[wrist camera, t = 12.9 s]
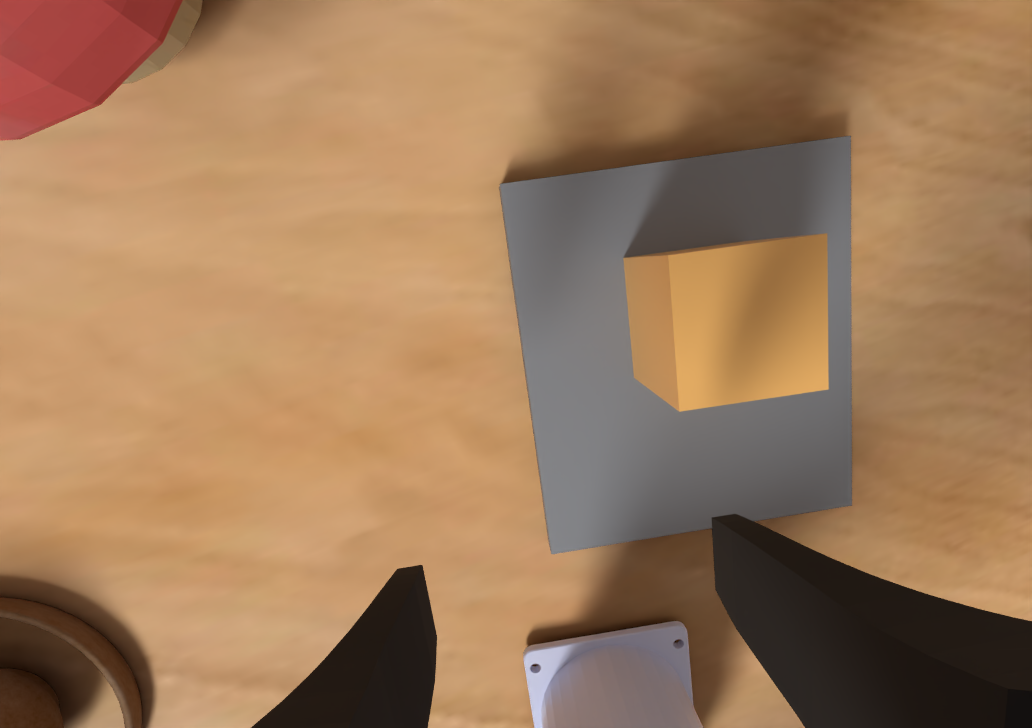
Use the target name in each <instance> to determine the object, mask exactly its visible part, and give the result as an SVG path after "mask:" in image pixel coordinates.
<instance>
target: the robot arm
mask: <svg viewBox="0 0 1032 728" xmlns="http://www.w3.org/2000/svg"><path fill="white" fill-rule="evenodd" d="M711 519H712V536H713V553H714V570H715V588H716V591H717V593H718V595H719V597H720V599H721V601H722V603H723V605H724V607H725V609H726V611H727V613H728V614H729V616H730V618H731V620H732V622H733V623H734V625H735V627H736V629H737V630H738V632H739V633H740V635H741V636H742V638H743V639H744V641H745V642H746V643H747V645H748V646H749V648H750V649H751V651H752V652H753V653H754V655H755V656H756V658H757V659H758V661H759V662H760V663H761V665H762V666H763V668H764V669H765V671H766V672H767V673H768V675H769V676H770V678H771V679H772V680H773V682H774V683H775V685H776V686H777V688H778V689H779V690H780V692H781V693H782V695H783V696H784V697H785V699H786V700H787V702H788V703H789V705H790V706H791V707H792V709H793V710H794V712H795V713H796V714H797V716H798V717H799V719H800V720H801V722H802V723H803V725H804V726H805V728H1032V621H1027V620H1023V619H1018V618H1013V617H1009V616H1005V615H1001V614H997V613H993V612H989V611H985V610H981V609H977V608H973V607H970V606H966V605H963V604H959V603H955V602H952V601H948V600H945V599H941V598H938V597H935V596H931V595H928V594H925V593H922V592H919V591H916V590H913V589H910V588H907V587H904V586H901V585H898V584H895V583H893V582H890V581H887V580H884V579H881V578H879V577H876V576H873V575H871V574H868V573H865V572H863V571H861V570H858V569H856V568H853V567H851V566H849V565H846V564H844V563H841V562H839V561H837V560H834V559H832V558H830V557H827V556H825V555H823V554H821V553H819V552H816V551H814V550H812V549H810V548H808V547H806V546H803V545H801V544H799V543H797V542H795V541H793V540H791V539H789V538H787V537H785V536H783V535H781V534H779V533H776V532H774V531H772V530H770V529H768V528H766V527H764V526H762V525H760V524H758V523H756V522H754V521H751V520H749V519H747V518H745V517H743V516H740V515H738V514H730V515H724V516H718V517H712V518H711ZM678 639H680V640H679V642H676V643H674V641H675V640H678ZM436 647H437V635H436V630H435V625H434V620H433V615H432V610H431V605H430V600H429V595H428V591H427V586H426V581H425V576H424V571H423V566H422V565H418V566H412V567H406V568H400V569H397V570H396V571H395V573H394V574H393V575H392V576H391V578H390V579H389V580H388V582H387V583H386V584H385V586H384V587H383V588H382V590H381V591H380V592H379V593H378V595H377V596H376V597H375V599H374V600H373V601H372V603H371V604H370V605H369V607H368V608H367V609H366V611H365V612H364V613H363V614H362V616H361V617H360V618H359V619H358V621H357V622H356V623H355V624H354V626H353V627H352V628H351V629H350V631H349V632H348V633H347V634H346V635H345V636H344V637H343V639H342V640H341V641H340V642H339V643H338V644H337V646H336V647H335V648H334V649H333V650H332V651H331V652H330V654H329V655H328V656H327V657H326V658H325V659H324V660H323V661H322V662H321V663H320V665H319V666H318V667H317V668H316V669H315V670H314V671H313V672H312V673H311V674H310V675H309V676H308V677H307V678H306V679H305V680H304V681H303V682H302V683H301V684H300V685H299V686H298V687H297V688H296V689H294V690H293V691H292V692H291V693H290V694H289V695H288V696H287V697H286V698H285V699H284V700H283V701H282V702H281V703H279V704H278V705H277V706H276V707H275V708H274V709H272V710H271V711H270V712H269V713H268V714H267V715H265V716H264V717H263V718H262V719H261V720H260V721H258V722H257V723H256V724H255V725H254V726H252V727H251V728H428V722H429V715H430V709H431V703H432V696H433V690H434V683H435V670H436ZM523 658H524V665H525V672H526V678H527V684H528V690H529V697H530V703H531V709H532V716H533V722H534V728H703V726H702V724H701V721H700V719H699V717H698V715H697V713H696V711H695V709H694V706H693V694H692V682H691V669H690V657H689V644H688V632H687V629H686V628H685V626H684V624H683V623H682V622H679V621H672V622H666V623H660V624H654V625H648V626H642V627H636V628H630V629H624V630H618V631H612V632H606V633H600V634H595V635H589V636H583V637H577V638H571V639H565V640H559V641H553V642H547V643H541V644H535V645H531V646H528V647H527V648H526V649H525V650H524V652H523ZM533 664H539V665H538V666H536V667H534V666H531V665H533Z"/></svg>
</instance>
